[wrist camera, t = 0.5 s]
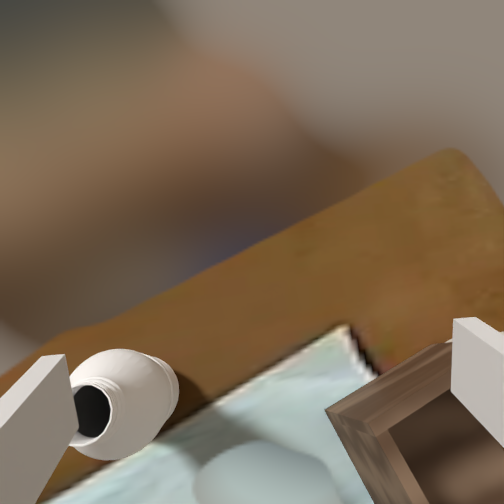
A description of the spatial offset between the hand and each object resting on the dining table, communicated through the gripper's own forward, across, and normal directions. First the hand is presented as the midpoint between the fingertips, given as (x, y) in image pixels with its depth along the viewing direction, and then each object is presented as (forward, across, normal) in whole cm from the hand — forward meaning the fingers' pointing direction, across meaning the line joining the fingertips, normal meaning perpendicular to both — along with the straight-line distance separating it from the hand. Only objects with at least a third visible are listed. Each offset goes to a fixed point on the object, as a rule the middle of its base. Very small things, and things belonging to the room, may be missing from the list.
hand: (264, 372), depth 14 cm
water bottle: (+28, +12, +16) cm, 34 cm away
